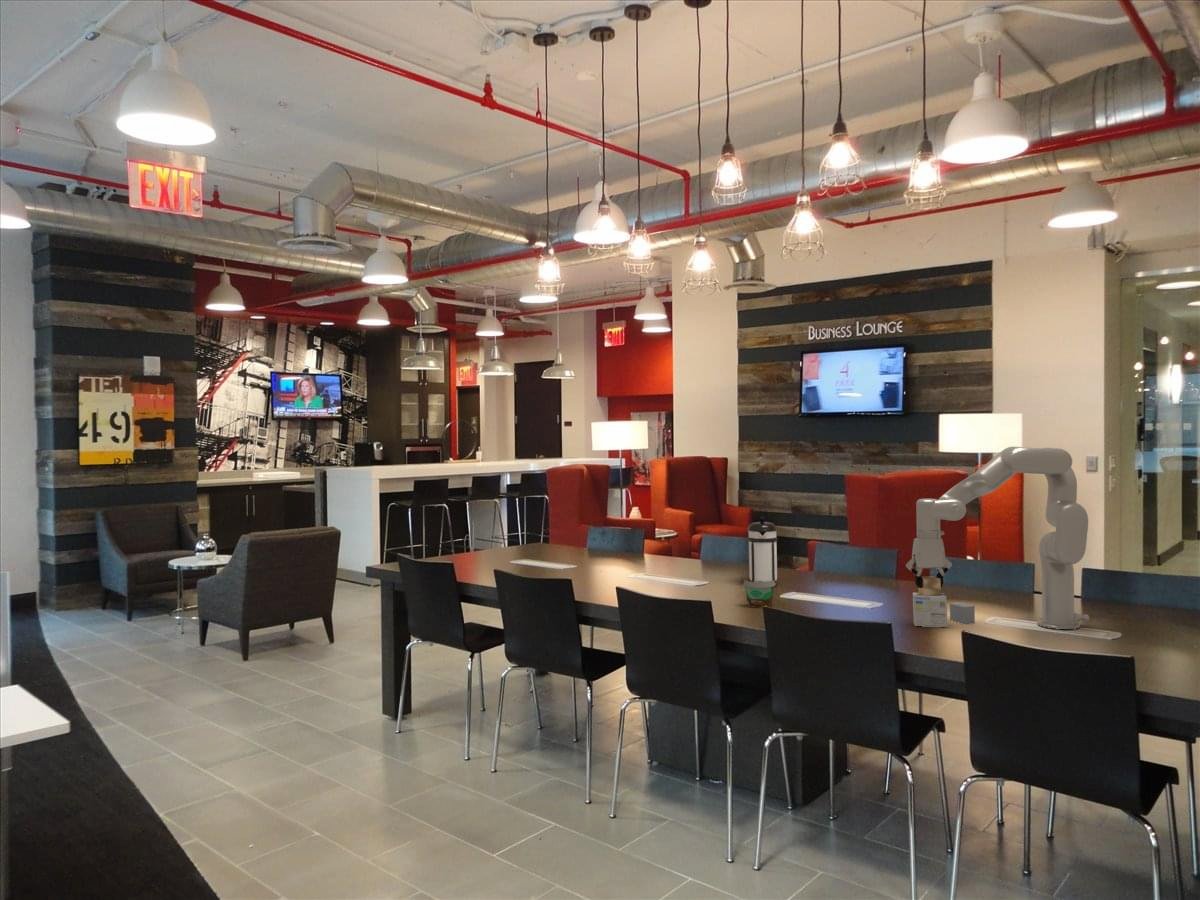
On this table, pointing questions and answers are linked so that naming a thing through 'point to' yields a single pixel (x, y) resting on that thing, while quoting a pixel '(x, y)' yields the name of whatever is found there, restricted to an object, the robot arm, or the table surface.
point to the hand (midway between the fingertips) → (929, 586)
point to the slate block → (962, 613)
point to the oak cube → (930, 586)
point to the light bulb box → (930, 610)
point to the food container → (759, 593)
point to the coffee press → (762, 551)
